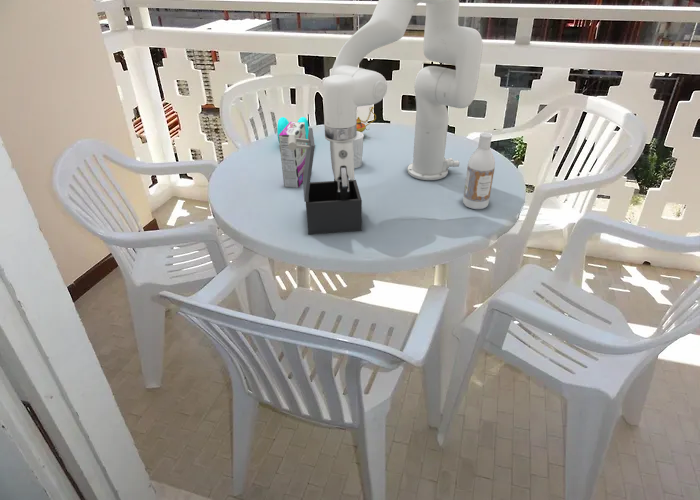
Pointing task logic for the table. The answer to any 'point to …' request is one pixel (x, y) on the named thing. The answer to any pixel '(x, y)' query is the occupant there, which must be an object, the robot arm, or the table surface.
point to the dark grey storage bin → (333, 209)
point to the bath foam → (479, 175)
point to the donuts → (284, 122)
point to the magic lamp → (361, 126)
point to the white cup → (358, 149)
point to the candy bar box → (292, 155)
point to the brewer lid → (308, 160)
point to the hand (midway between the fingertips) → (342, 198)
